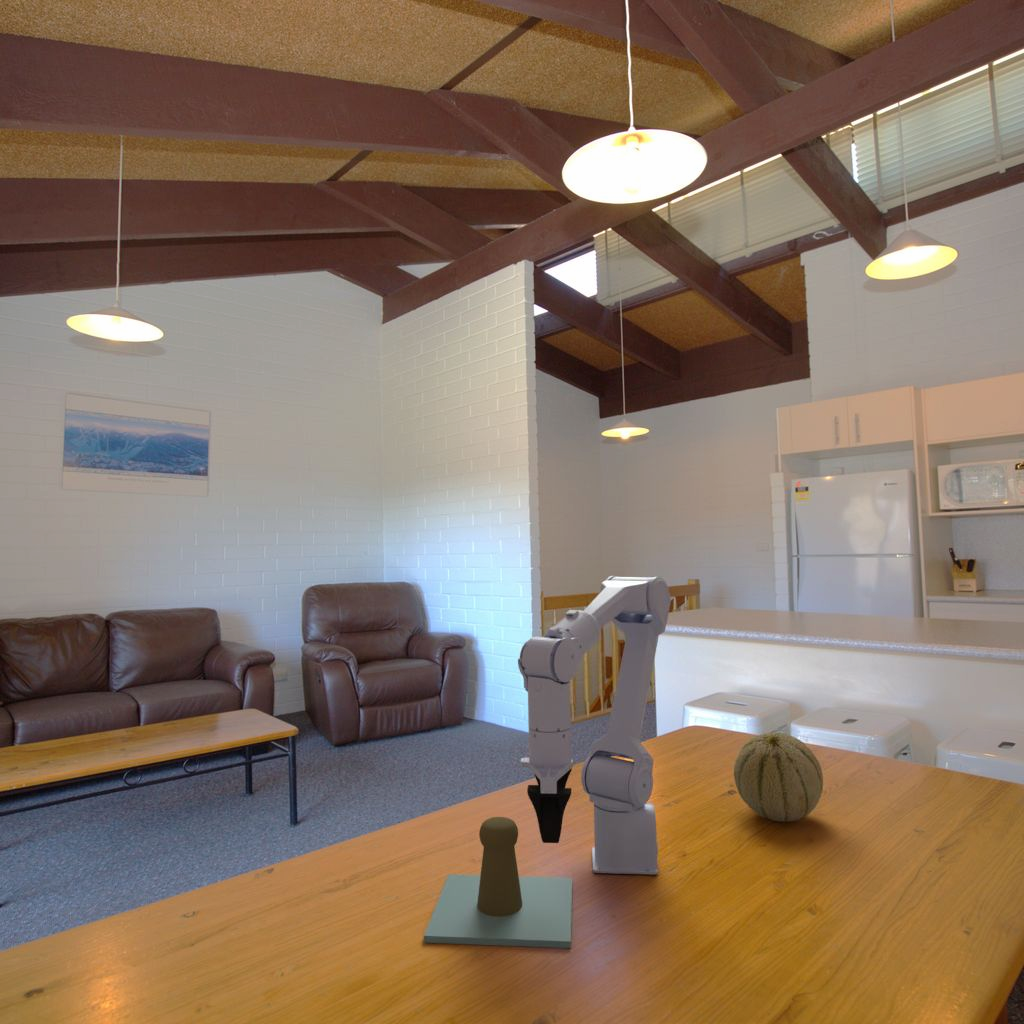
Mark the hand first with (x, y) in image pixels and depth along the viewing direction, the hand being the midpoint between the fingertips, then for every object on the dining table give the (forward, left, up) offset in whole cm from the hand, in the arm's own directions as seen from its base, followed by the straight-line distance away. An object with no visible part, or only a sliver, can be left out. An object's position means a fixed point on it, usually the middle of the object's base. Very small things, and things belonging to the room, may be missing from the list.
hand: (551, 829), depth 92 cm
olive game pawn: (+7, +1, -10) cm, 12 cm away
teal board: (+7, +1, -10) cm, 12 cm away
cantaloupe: (-38, -33, -11) cm, 52 cm away
